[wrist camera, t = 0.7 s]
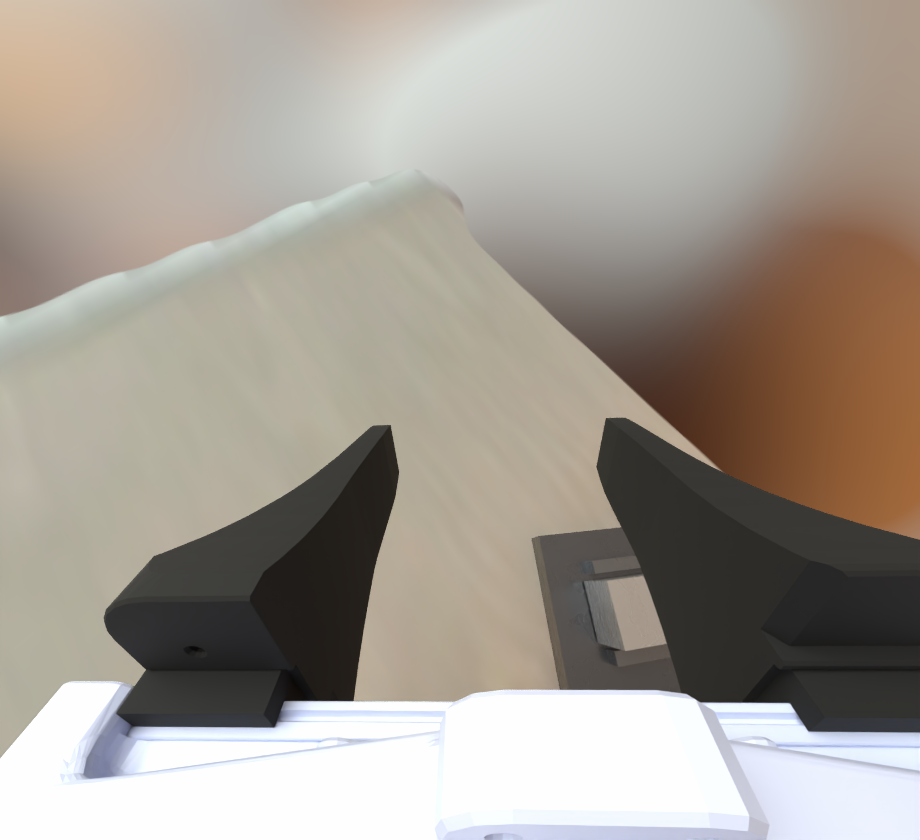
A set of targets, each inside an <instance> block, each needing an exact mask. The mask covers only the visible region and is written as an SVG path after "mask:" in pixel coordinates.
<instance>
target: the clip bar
mask: <svg viewBox="0 0 920 840" xmlns="http://www.w3.org/2000/svg"><path fill="white" fill-rule="evenodd" d="M584 584H585V588H586V593H587V597H588V601H589V605H590V610H591V614H592V618H593V623H594V627H595V631H596V635H597V640H598V643H600V644H603V645H607V646H610V647H613V648H617V649H620V650H623V651H629V650H635V649H640V648H646V647H651V646H657V645H663V644H667V643H666V639H665V636H664V633H663V630H662V627H661V624H660V621H659V618H658V615H657V612H656V609H655V606H654V603H653V600H652V597H651V594H650V592H649V589H648V586H647V584H646V581H645V578H644V575H643V573H642V574H634V575H627V576H620V577H612V578H605V579H597V580H590V581H584Z"/></svg>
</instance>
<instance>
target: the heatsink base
mask: <svg viewBox="0 0 920 840" xmlns="http://www.w3.org/2000/svg"><path fill="white" fill-rule="evenodd" d="M532 542H533V548H534V553H535V558H536V564H537V569H538V574H539V580H540V585H541V590H542V596H543V601H544V606H545V612H546V617H547V622H548V628H549V633H550V638H551V644H552V649H553V654H554V660H555V665H556V670H557V676H558V681H559V686H560V690H659V691H667V692H675V693H681V690H680V686H679V683H678V679H677V676H676V672H675V669H674V665H673V662H672V659H671V656H670V652H669V649H668V646H667V644H663V645H657V646H651V647H646V648H640V649H635V650H629V651H623V650H620V649H617V648H613V647H610V646H607V645H603V644H600V643H598V640H597V635H596V631H595V627H594V623H593V618H592V614H591V610H590V605H589V601H588V597H587V593H586V588H585V584H584V581H590V580H597V579H605V578H612V577H620V576H627V575H634V574H642V570H641V567H640V565H639V562H638V560H637V558H636V556H635V553H634V551H633V549H632V547H631V545H630V543H629V541H628V539H627V537H626V535H625V533H624V531H623V529H622V527H621V528H612V529H602V530H593V531H583V532H574V533H564V534H555V535H545V536H538V537H535V538H532Z"/></svg>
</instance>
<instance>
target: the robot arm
mask: <svg viewBox="0 0 920 840" xmlns="http://www.w3.org/2000/svg"><path fill="white" fill-rule="evenodd" d="M597 470H598V474H599V477H600V480H601V483H602V486H603V489H604V492H605V494H606V496H607V499H608V501H609V503H610V505H611V507H612V509H613V511H614V513H615V515H616V517H617V519H618V521H619V523H620V525H621V527H622V529H623V531H624V533H625V535H626V537H627V539H628V541H629V543H630V545H631V547H632V549H633V551H634V553H635V556H636V558H637V560H638V562H639V565H640V567H641V570H642V573H643V575H644V578H645V581H646V584H647V586H648V589H649V592H650V594H651V597H652V600H653V603H654V606H655V609H656V612H657V615H658V618H659V621H660V624H661V627H662V630H663V633H664V636H665V639H666V643H667V646H668V649H669V652H670V656H671V659H672V662H673V665H674V669H675V672H676V676H677V679H678V683H679V686H680V690H681V693H675V692H667V691H659V690H498V691H490V692H481V693H473V694H471V695H469V696H467V697H464V698H462V699H460V700H458V701H456V702H405V701H354V693H355V685H356V678H357V670H358V663H359V657H360V650H361V643H362V637H363V630H364V624H365V618H366V612H367V607H368V601H369V595H370V590H371V585H372V579H373V574H374V569H375V565H376V561H377V557H378V553H379V550H380V546H381V543H382V540H383V537H384V533H385V530H386V527H387V523H388V520H389V517H390V513H391V510H392V507H393V503H394V500H395V495H396V489H397V483H398V476H399V469H398V464H397V458H396V453H395V447H394V442H393V436H392V431H391V425H379V426H372V427H371V428H369V429H368V430H367V431H366V432H365V433H364V434H363V435H361V436H360V437H359V438H358V439H357V440H356V441H355V442H354V443H353V444H351V445H350V446H349V447H348V448H347V449H346V450H345V451H343V452H342V453H341V454H340V455H339V456H338V457H336V458H335V459H334V460H333V461H331V462H330V463H329V464H328V465H326V466H325V467H324V468H323V469H321V470H320V471H319V472H318V473H316V474H315V475H314V476H312V477H311V478H310V479H308V480H307V481H305V482H304V483H303V484H301V485H300V486H298V487H297V488H295V489H294V490H292V491H290V492H289V493H287V494H286V495H284V496H283V497H281V498H279V499H277V500H276V501H274V502H272V503H270V504H269V505H267V506H265V507H263V508H261V509H260V510H258V511H256V512H254V513H253V514H251V515H249V516H247V517H245V518H243V519H241V520H239V521H237V522H235V523H233V524H231V525H228V526H226V527H224V528H222V529H220V530H218V531H215V532H213V533H211V534H209V535H206V536H204V537H202V538H199V539H197V540H194V541H192V542H189V543H187V544H184V545H182V546H179V547H177V548H174V549H172V550H169V551H167V552H164V553H162V554H159V555H156V556H154V557H153V558H152V559H151V560H150V561H149V563H148V564H147V565H146V566H145V567H144V568H143V569H142V570H141V571H140V573H139V574H138V575H137V576H136V577H135V578H134V579H133V580H132V581H131V582H130V584H129V585H128V586H127V587H126V588H125V589H124V590H123V591H122V592H121V594H120V595H119V596H118V597H117V598H116V599H115V600H114V601H113V602H112V604H111V605H110V606H109V607H108V608H107V609H106V612H105V615H104V622H105V625H106V628H107V631H108V633H109V634H110V635H111V636H112V637H113V639H114V640H115V641H116V642H117V643H118V644H119V645H120V646H121V647H123V648H124V649H125V650H126V651H127V652H128V653H129V654H130V655H131V656H132V657H133V658H134V659H135V660H136V661H137V662H139V663H140V664H141V665H142V666H143V667H144V668H145V669H146V671H145V672H144V674H143V675H142V677H141V678H140V680H139V681H138V682H137V684H136V685H135V687H134V686H132V685H130V684H126V683H123V682H114V681H71V682H68V683H65V684H64V685H63V686H62V687H61V688H60V689H59V690H58V692H57V693H56V694H55V695H54V696H53V698H52V699H51V700H50V701H49V702H48V703H47V705H46V706H45V707H44V708H43V709H42V710H41V712H40V713H39V714H38V715H37V716H36V717H35V719H34V720H33V721H32V722H31V723H30V725H29V726H28V727H27V728H26V729H25V730H24V732H23V733H22V734H21V735H20V736H19V737H18V739H17V740H16V741H15V742H14V743H13V744H12V746H11V747H10V748H9V749H8V750H7V752H6V753H5V754H4V755H3V756H2V757H1V759H0V840H920V540H918V539H914V538H910V537H907V536H903V535H899V534H896V533H892V532H888V531H884V530H881V529H877V528H873V527H869V526H866V525H862V524H859V523H856V522H853V521H849V520H846V519H843V518H840V517H836V516H833V515H830V514H827V513H824V512H821V511H818V510H815V509H812V508H809V507H806V506H803V505H800V504H798V503H795V502H792V501H790V500H787V499H784V498H782V497H779V496H776V495H774V494H771V493H768V492H766V491H763V490H761V489H759V488H756V487H754V486H752V485H749V484H747V483H745V482H743V481H740V480H738V479H736V478H734V477H732V476H729V475H727V474H725V473H723V472H721V471H719V470H717V469H715V468H713V467H711V466H709V465H707V464H705V463H703V462H701V461H700V460H698V459H696V458H694V457H692V456H690V455H689V454H687V453H685V452H683V451H681V450H680V449H678V448H676V447H675V446H673V445H671V444H669V443H668V442H666V441H664V440H663V439H661V438H659V437H658V436H656V435H654V434H653V433H651V432H650V431H648V430H646V429H645V428H643V427H641V426H639V425H638V424H636V423H634V422H632V421H631V420H629V419H627V418H606V421H605V426H604V431H603V436H602V441H601V446H600V452H599V457H598V462H597Z"/></svg>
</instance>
